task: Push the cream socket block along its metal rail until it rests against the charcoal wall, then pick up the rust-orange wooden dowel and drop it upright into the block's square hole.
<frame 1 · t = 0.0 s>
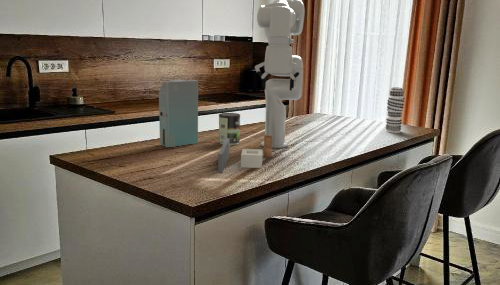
hand: (277, 89, 169), 31 cm above the countertop, tool pointing down, fingers open, 9 cm apart
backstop: (224, 165, 183), on the countertop
dowel: (267, 158, 195), on the countertop
socket block: (251, 158, 182), point 3 cm above the countertop, slide at 0.0 cm
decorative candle: (393, 131, 264), on the countertop
device: (179, 144, 217), on the countertop
coffee can: (229, 143, 223), on the countertop
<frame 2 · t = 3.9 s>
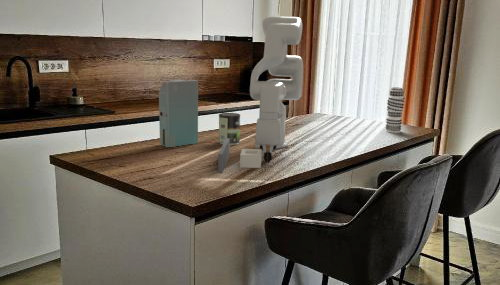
hand: (267, 161, 181), 2 cm above the countertop, tool pointing down, fingers closed
socket block: (251, 158, 182), point 3 cm above the countertop, slide at 0.3 cm, touching gripper
everything else where it was.
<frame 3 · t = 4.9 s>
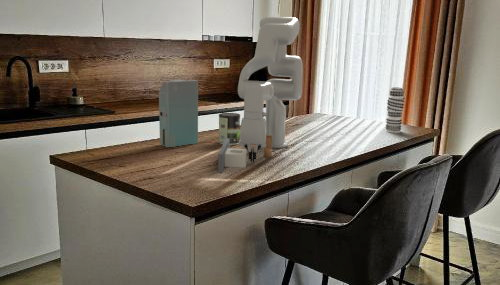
hand: (252, 161, 182), 2 cm above the countertop, tool pointing down, fingers closed
socket block: (236, 157, 182), point 3 cm above the countertop, slide at 6.3 cm, touching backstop, gripper
everything else where it was.
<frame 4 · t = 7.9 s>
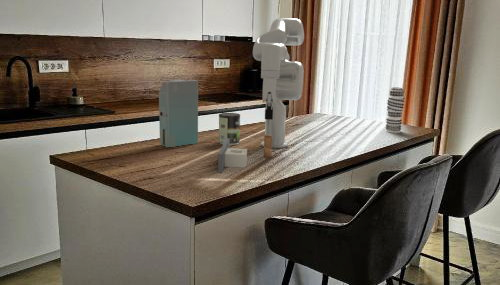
hand: (268, 117, 191), 18 cm above the countertop, tool pointing down, fingers open, 6 cm apart
socket block: (236, 157, 182), point 3 cm above the countertop, slide at 6.3 cm, touching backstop
everything else where it was.
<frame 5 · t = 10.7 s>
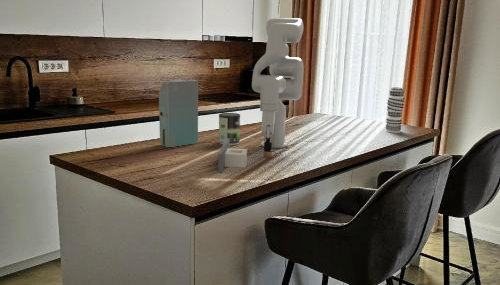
hand: (267, 150, 194), 4 cm above the countertop, tool pointing down, fingers closed on dowel, 3 cm apart
dowel: (267, 158, 195), on the countertop, touching gripper
everything else where it was.
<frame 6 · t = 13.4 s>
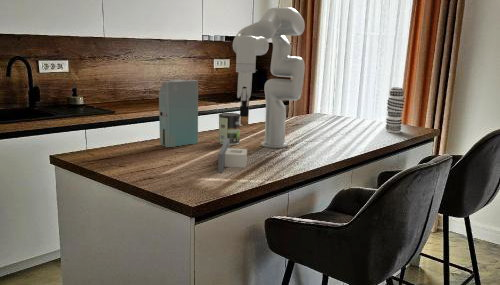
hand: (244, 115, 181), 20 cm above the countertop, tool pointing down, fingers closed on dowel, 3 cm apart
dowel: (244, 124, 181), point 16 cm above the countertop, touching gripper
everything else where it was.
when the fingers open (7 cm above the countertop, at t = 16.3 s): dowel drops 1 cm, resting on socket block.
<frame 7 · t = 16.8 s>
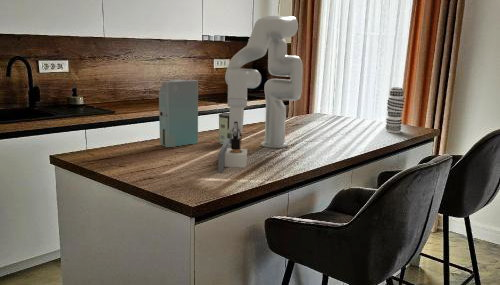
hand: (236, 146, 181), 8 cm above the countertop, tool pointing down, fingers open, 8 cm apart
dowel: (236, 161, 182), point 2 cm above the countertop, touching socket block
socket block: (236, 157, 182), point 3 cm above the countertop, slide at 6.3 cm, touching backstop, dowel
everything else where it was.
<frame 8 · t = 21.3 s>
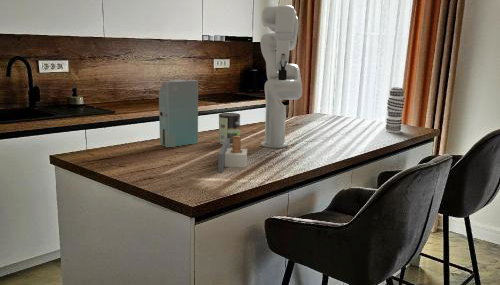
hand: (282, 79, 191), 33 cm above the countertop, tool pointing down, fingers open, 9 cm apart
socket block: (236, 157, 182), point 3 cm above the countertop, slide at 6.2 cm, touching dowel
everything else where it was.
at the end: socket block slide at 6.2 cm; dowel 0.1 cm off-centre on the socket block, point 1.0 cm above the socket block's base; dowel tilted 1° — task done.
